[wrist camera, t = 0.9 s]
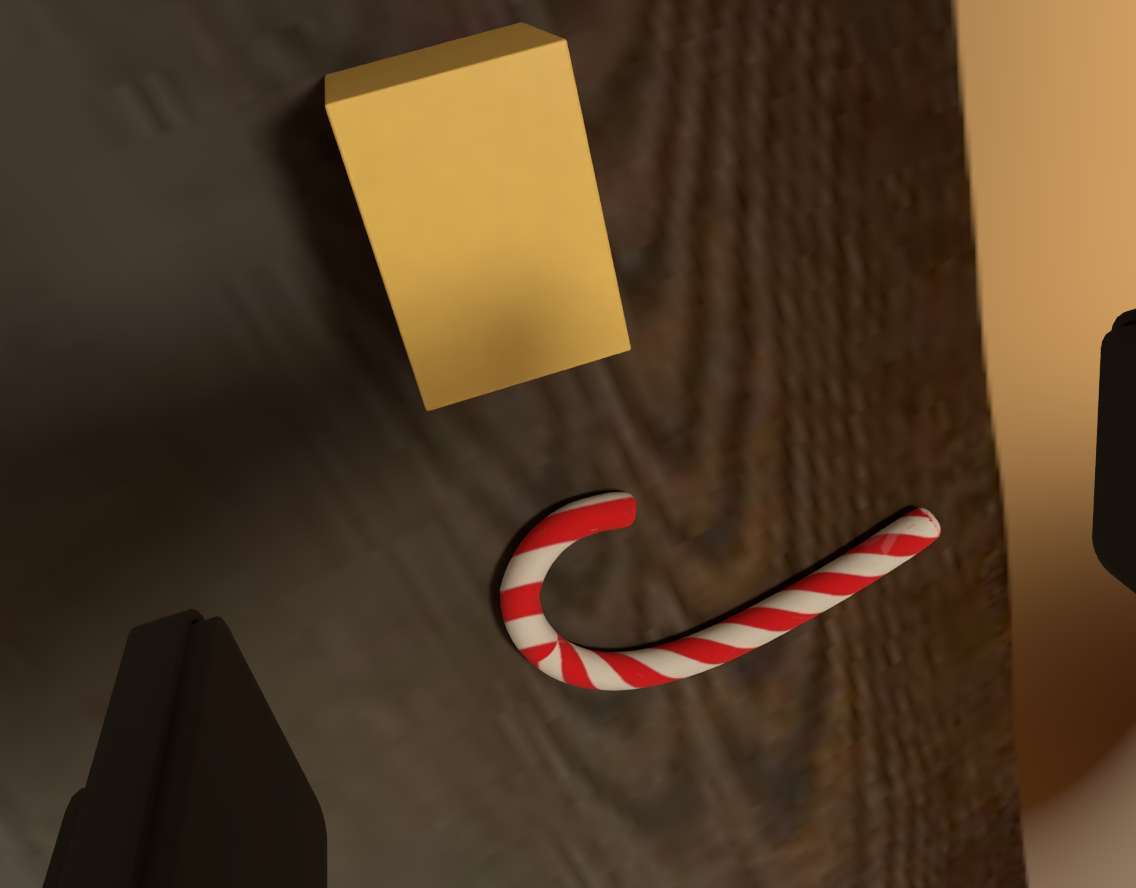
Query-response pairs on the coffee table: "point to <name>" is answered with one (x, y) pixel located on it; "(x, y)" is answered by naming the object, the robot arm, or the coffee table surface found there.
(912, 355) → the coffee table surface
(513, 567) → the candy cane
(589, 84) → the coffee table surface
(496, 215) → the cheese
